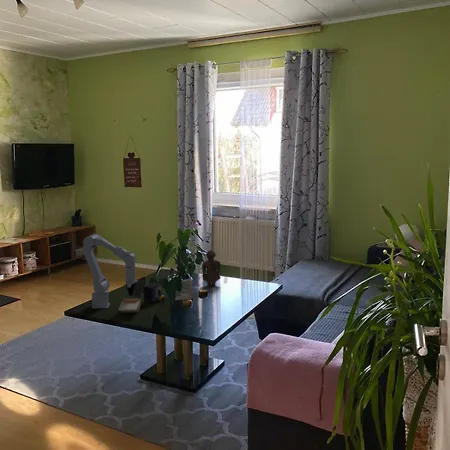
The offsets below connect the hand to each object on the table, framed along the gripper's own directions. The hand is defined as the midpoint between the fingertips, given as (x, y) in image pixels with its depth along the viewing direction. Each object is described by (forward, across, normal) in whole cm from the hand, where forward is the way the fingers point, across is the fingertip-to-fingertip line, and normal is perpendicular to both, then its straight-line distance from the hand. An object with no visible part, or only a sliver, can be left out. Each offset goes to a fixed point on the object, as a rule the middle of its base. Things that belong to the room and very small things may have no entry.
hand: (131, 295), depth 287 cm
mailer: (+8, -1, 0) cm, 8 cm away
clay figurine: (+8, +43, -49) cm, 65 cm away
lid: (+4, -9, 0) cm, 10 cm away
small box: (+8, +13, -12) cm, 20 cm away
